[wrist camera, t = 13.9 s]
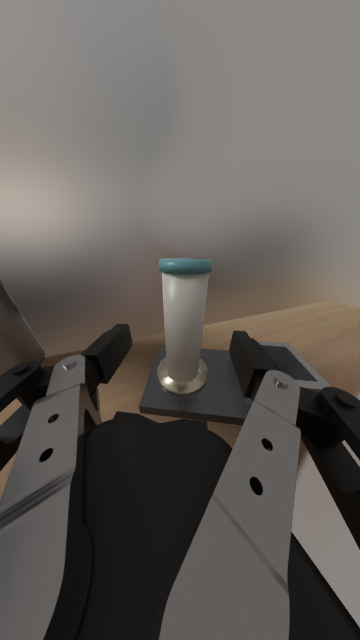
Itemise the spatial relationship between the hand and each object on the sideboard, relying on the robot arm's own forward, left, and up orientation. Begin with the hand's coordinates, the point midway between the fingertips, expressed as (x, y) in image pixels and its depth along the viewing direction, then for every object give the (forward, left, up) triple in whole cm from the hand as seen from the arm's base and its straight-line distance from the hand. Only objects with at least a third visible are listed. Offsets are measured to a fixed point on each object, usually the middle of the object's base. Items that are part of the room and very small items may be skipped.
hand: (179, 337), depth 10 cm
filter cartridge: (0, +7, -11) cm, 13 cm away
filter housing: (+7, +7, -13) cm, 16 cm away
